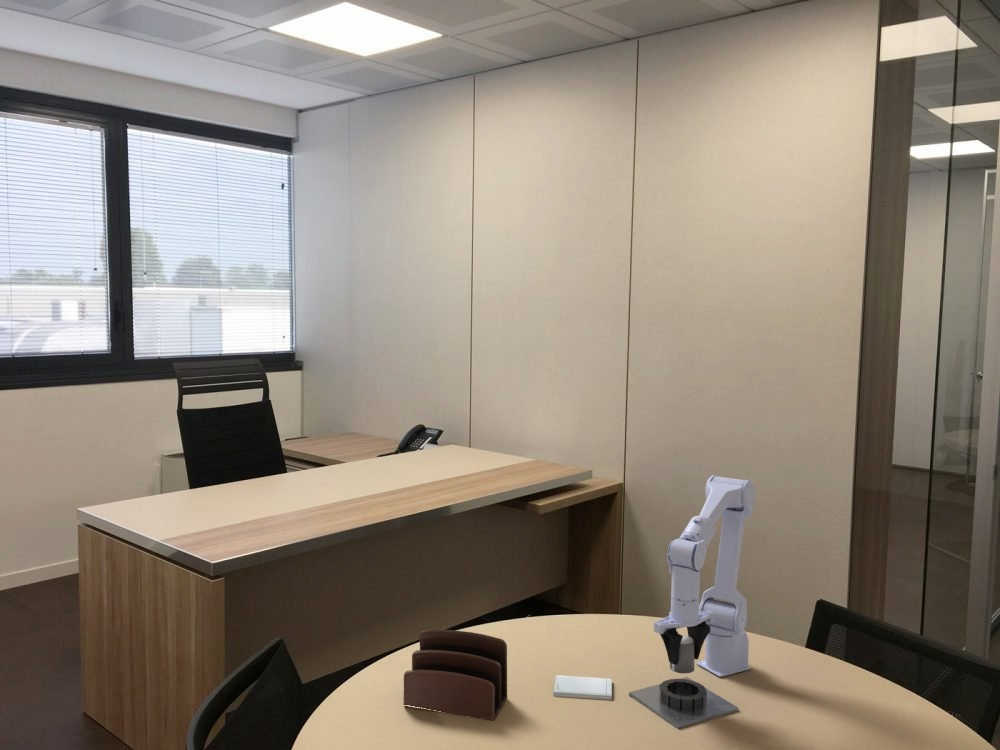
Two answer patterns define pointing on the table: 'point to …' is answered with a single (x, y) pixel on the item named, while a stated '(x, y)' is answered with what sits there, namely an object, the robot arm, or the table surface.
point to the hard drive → (583, 687)
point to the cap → (685, 656)
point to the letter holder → (458, 674)
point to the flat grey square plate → (683, 702)
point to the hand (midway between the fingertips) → (683, 660)
